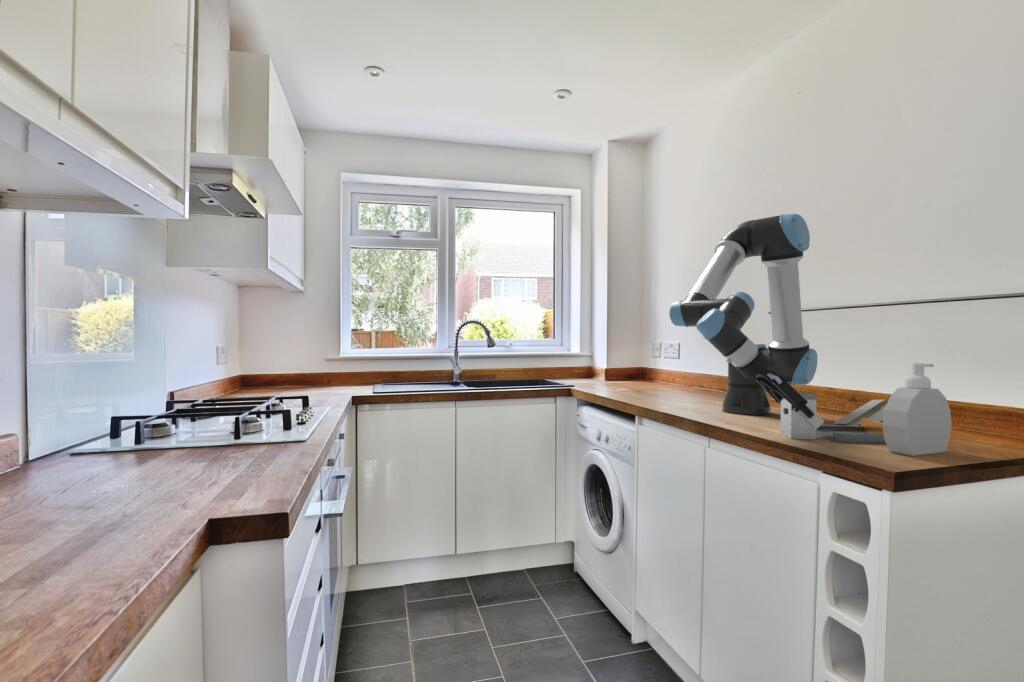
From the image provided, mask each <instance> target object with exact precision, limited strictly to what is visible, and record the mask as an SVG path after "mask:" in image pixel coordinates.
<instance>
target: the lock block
mask: <svg viewBox="0 0 1024 682" xmlns="http://www.w3.org/2000/svg"><path fill="white" fill-rule="evenodd" d="M798 393H799V394H800V395H801V396H802V397H803V398H804V399H805V400H807V402H808V403H807V405H808V406H809V407H810V408H811V409H812V410H813V411H814V412H815V413H816V414H817V400H818V394H812V393H808V392H798ZM795 409H796V408H795V407H794V406H793V405H792V404H790V403H789V402H788V401H787V400H786V399H785V398H783V397H782V396H781V404H780V435H782V436H784V437H787V438H788V439H794V440H795V439H797V440H817V435H816V429H815V428H814V427H813V426H812V425H811V424H809V423H808V422H807V421H806V420H805V419H804V418H803V417H802V416H801V415H800V414H799V413H798V412H795V411H794V410H795Z"/></svg>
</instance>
